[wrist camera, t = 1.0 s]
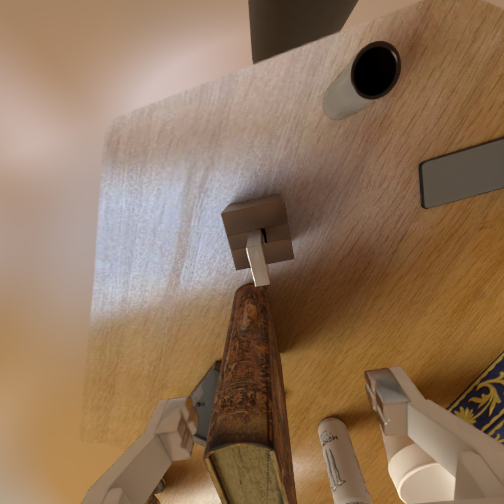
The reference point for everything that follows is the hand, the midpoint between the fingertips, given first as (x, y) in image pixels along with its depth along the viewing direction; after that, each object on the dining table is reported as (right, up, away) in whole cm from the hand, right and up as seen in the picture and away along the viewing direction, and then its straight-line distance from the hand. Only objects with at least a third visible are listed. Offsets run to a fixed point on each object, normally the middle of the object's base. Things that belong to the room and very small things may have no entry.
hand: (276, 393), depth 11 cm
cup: (+28, -25, +38) cm, 54 cm away
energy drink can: (+16, -31, +41) cm, 54 cm away
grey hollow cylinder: (+10, +27, +20) cm, 35 cm away
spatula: (0, +11, +26) cm, 28 cm away
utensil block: (0, +11, +26) cm, 28 cm away
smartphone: (+31, +18, +23) cm, 42 cm away
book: (0, -7, +33) cm, 33 cm away
